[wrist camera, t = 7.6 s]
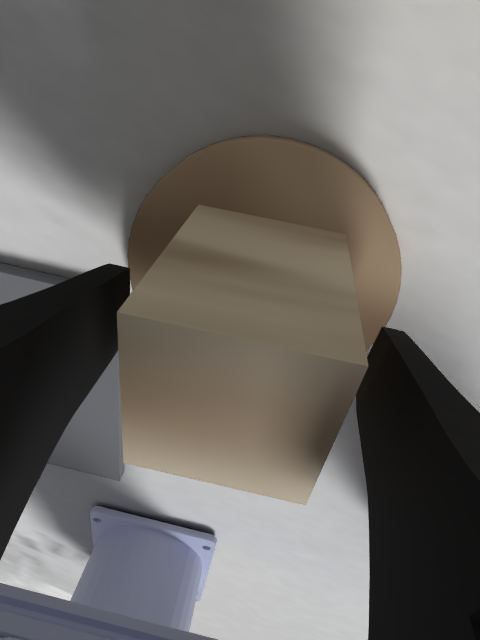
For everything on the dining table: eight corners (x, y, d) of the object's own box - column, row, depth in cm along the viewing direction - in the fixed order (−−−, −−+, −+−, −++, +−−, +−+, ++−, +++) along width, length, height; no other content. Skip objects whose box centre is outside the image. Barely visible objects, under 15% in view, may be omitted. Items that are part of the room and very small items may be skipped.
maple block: (308, 349, 14) (305, 505, 9) (188, 323, 14) (123, 462, 10) (346, 234, 12) (368, 366, 7) (198, 204, 12) (116, 312, 7)
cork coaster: (345, 393, 16) (346, 408, 16) (135, 344, 17) (127, 356, 16) (448, 172, 11) (457, 180, 10) (138, 105, 11) (128, 108, 11)
